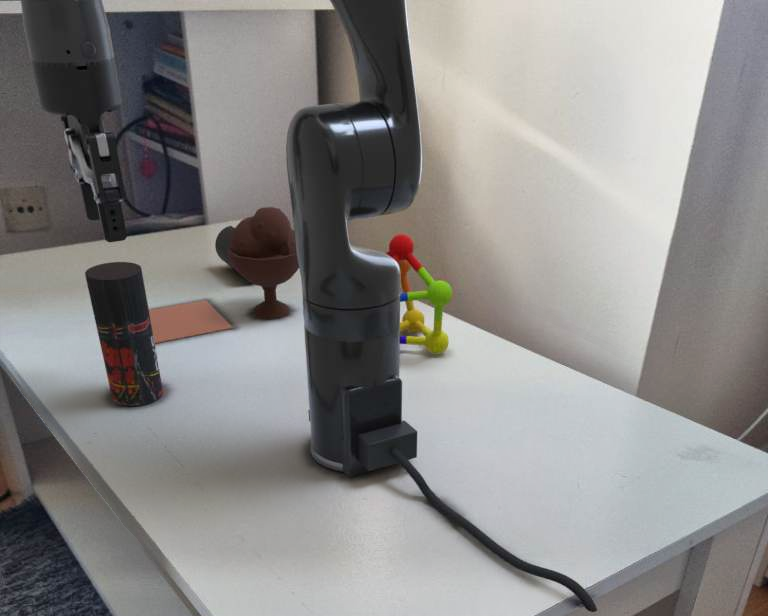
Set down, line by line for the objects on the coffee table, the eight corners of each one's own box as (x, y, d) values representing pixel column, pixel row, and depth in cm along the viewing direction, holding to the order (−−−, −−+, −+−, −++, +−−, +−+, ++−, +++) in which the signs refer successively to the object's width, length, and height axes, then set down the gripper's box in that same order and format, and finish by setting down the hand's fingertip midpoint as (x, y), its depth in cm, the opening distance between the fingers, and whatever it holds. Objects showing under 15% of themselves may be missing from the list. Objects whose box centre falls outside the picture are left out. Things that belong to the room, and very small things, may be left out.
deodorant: (108, 389, 97) (81, 266, 88) (157, 380, 99) (135, 259, 91) (116, 410, 93) (89, 283, 84) (168, 400, 95) (146, 275, 86)
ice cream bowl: (313, 299, 122) (308, 196, 113) (300, 328, 113) (293, 218, 104) (245, 297, 123) (234, 194, 114) (226, 325, 113) (213, 216, 105)
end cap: (217, 269, 133) (212, 228, 129) (257, 262, 136) (253, 221, 132) (241, 287, 126) (236, 244, 122) (282, 279, 129) (279, 237, 125)
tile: (233, 328, 113) (233, 327, 113) (148, 344, 108) (148, 343, 108) (205, 300, 121) (205, 300, 121) (126, 315, 117) (126, 314, 117)
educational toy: (331, 348, 110) (321, 234, 102) (409, 328, 115) (405, 219, 108) (392, 380, 98) (386, 254, 90) (476, 356, 104) (477, 236, 96)
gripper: (19, 48, 79) (57, 217, 89) (43, 65, 69) (84, 254, 78) (96, 44, 82) (125, 208, 92) (130, 60, 72) (160, 243, 81)
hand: (106, 229), depth 85 cm, fingers open, 8 cm apart
